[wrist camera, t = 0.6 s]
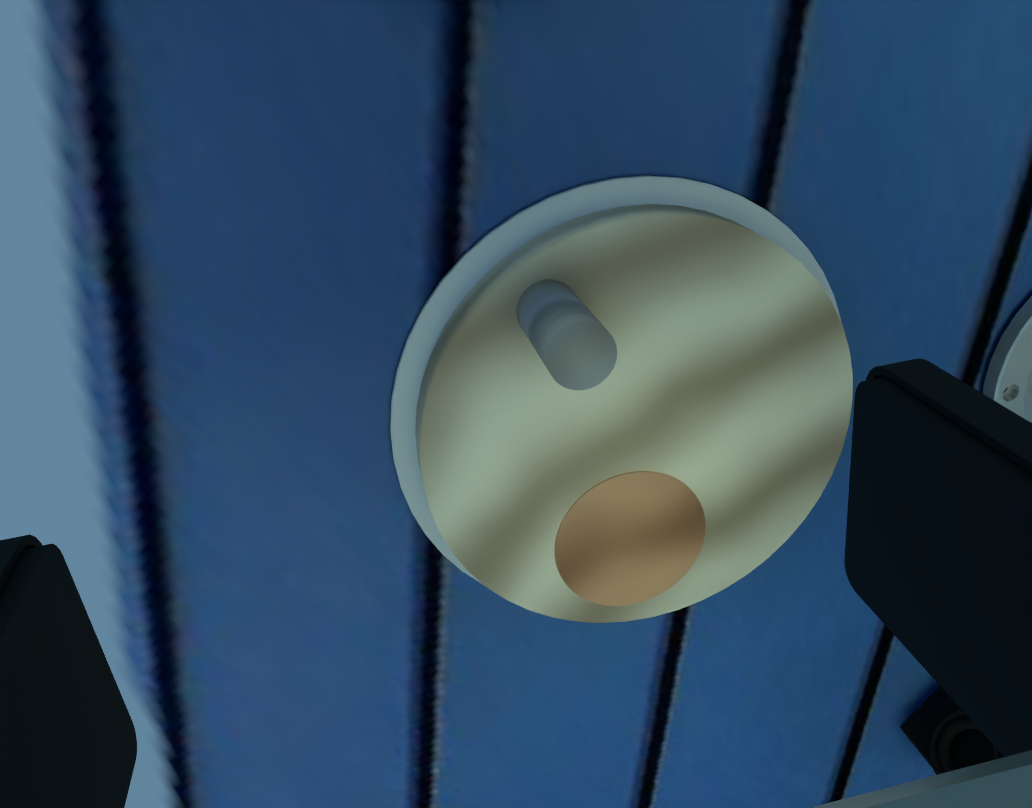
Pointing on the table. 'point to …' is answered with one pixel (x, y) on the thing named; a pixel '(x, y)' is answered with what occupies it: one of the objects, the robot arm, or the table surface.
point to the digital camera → (948, 735)
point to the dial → (632, 413)
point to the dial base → (510, 239)
